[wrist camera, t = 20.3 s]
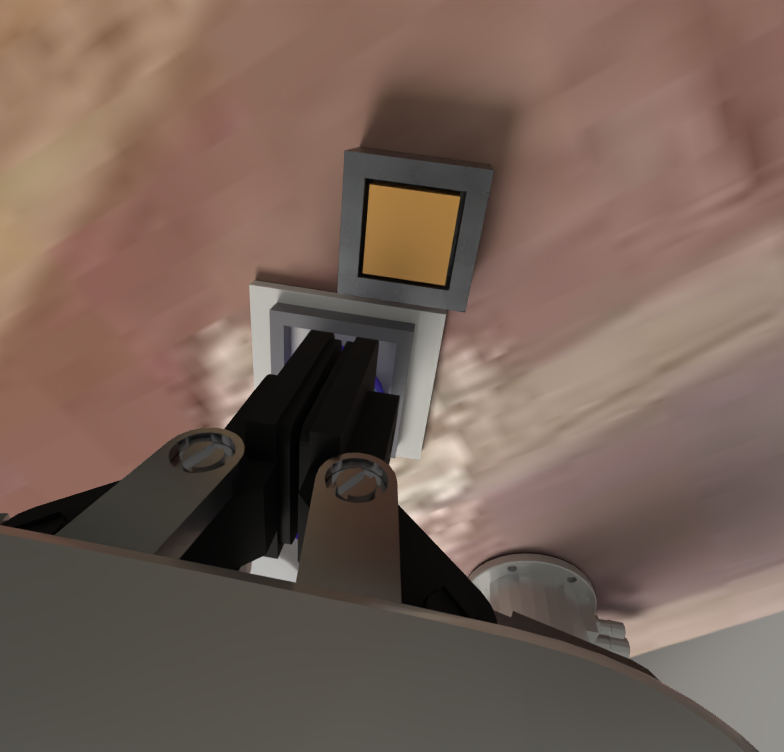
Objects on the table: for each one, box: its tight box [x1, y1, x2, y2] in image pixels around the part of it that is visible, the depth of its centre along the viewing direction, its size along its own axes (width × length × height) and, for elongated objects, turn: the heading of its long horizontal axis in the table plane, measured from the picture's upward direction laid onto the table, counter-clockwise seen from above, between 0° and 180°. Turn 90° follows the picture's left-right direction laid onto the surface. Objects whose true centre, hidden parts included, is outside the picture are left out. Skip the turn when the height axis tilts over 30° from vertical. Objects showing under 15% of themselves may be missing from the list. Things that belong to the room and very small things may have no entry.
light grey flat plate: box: [249, 280, 446, 460], centre depth 35 cm, size 14×13×2 cm
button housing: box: [337, 147, 494, 312], centre depth 28 cm, size 8×8×4 cm
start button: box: [363, 181, 460, 285], centre depth 27 cm, size 5×5×2 cm
